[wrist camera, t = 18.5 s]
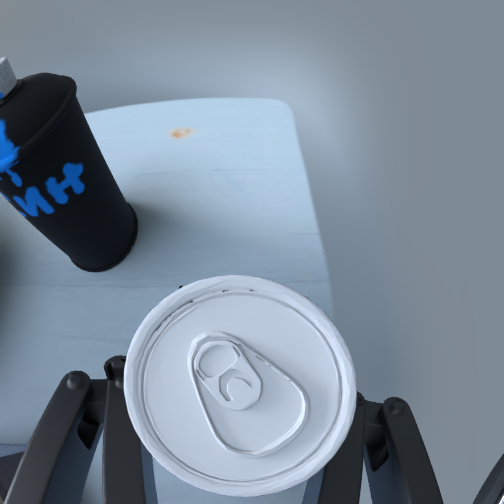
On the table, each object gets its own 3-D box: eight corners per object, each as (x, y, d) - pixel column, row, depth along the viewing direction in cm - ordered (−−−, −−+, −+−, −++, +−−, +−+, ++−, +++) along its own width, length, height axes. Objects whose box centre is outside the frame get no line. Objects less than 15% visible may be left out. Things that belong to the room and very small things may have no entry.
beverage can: (261, 420, 18) (320, 517, 4) (187, 396, 18) (92, 449, 5) (283, 350, 20) (385, 308, 6) (211, 327, 20) (167, 240, 7)
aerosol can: (74, 203, 26) (-16, 57, 8) (141, 193, 27) (78, 11, 9) (62, 274, 23) (-81, 145, 5) (136, 270, 24) (7, 86, 6)
